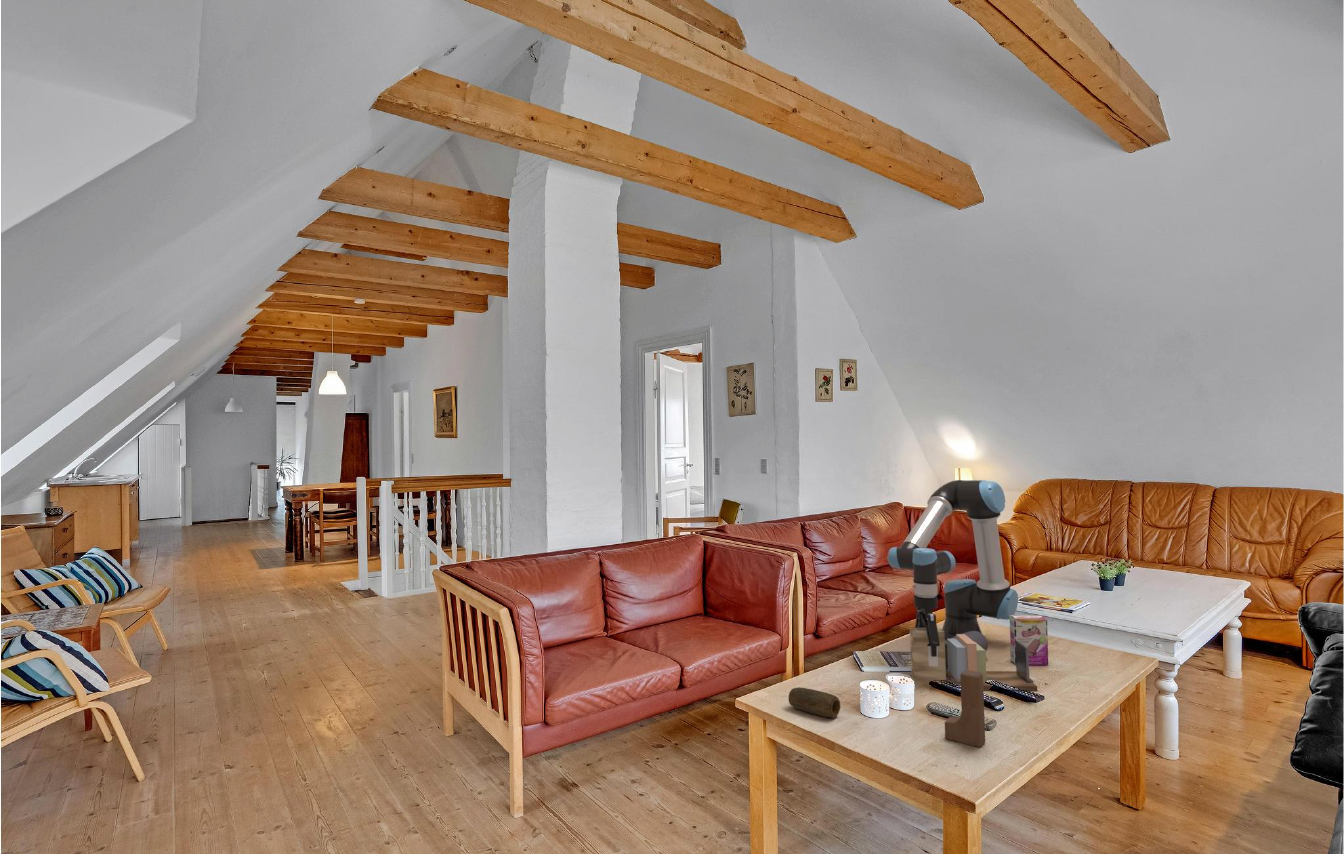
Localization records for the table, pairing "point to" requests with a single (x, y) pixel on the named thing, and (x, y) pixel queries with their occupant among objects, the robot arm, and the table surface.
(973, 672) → the wooden block
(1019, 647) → the bookend
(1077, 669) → the table surface
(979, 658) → the book row
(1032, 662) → the candy bar box
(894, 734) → the table surface
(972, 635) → the bluetooth speaker
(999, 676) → the shelf
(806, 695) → the portable cylindrical speaker
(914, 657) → the tan rectangular block
